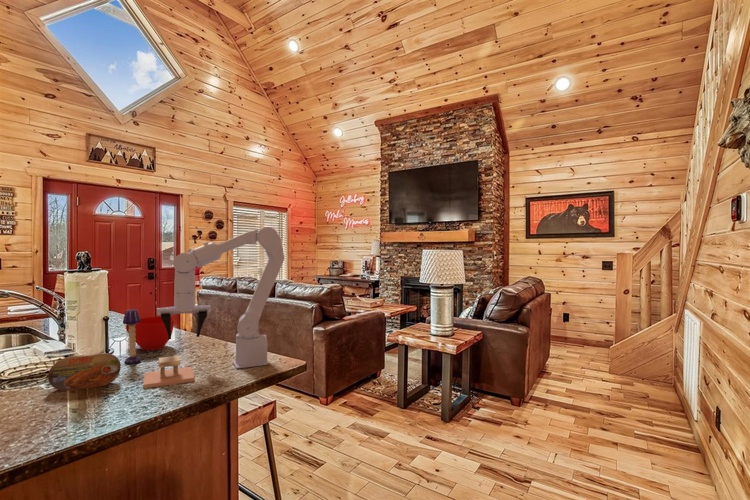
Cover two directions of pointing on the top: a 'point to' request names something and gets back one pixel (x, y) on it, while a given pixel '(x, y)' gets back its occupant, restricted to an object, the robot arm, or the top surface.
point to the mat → (168, 377)
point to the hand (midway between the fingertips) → (184, 337)
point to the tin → (84, 371)
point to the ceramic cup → (151, 333)
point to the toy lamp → (132, 335)
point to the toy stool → (169, 362)
